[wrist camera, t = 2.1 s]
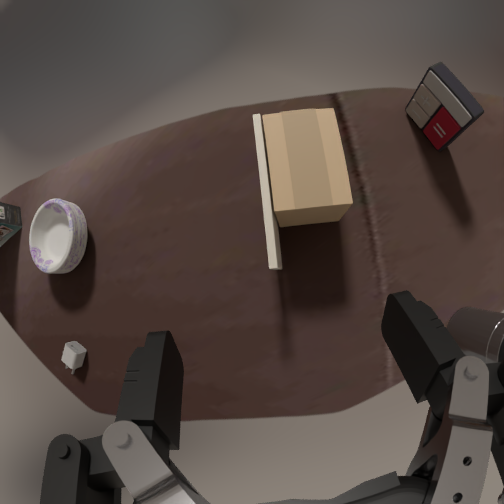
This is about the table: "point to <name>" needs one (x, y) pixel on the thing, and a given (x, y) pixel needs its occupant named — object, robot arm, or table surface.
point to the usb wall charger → (73, 355)
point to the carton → (306, 167)
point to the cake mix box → (9, 221)
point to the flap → (267, 197)
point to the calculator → (442, 106)
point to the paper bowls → (58, 236)
